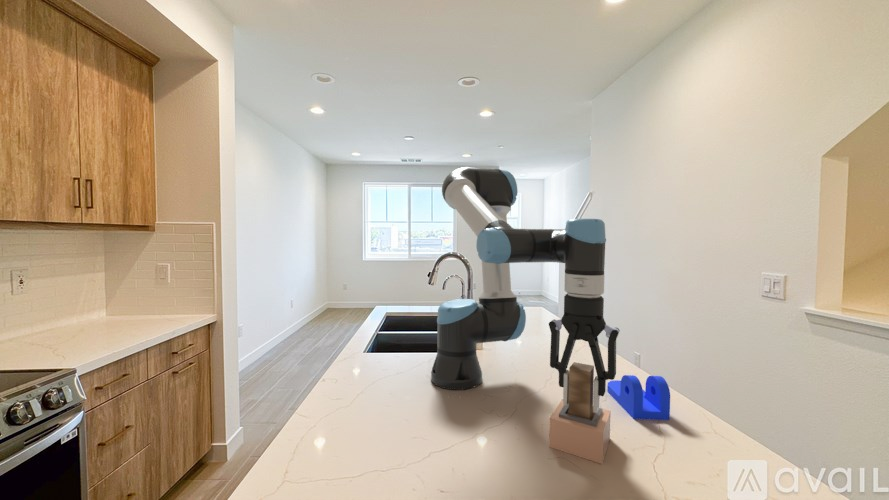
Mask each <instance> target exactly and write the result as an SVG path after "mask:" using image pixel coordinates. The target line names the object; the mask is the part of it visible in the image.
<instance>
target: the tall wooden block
mask: <svg viewBox="0 0 889 500" xmlns="http://www.w3.org/2000/svg"><path fill="white" fill-rule="evenodd" d="M568 370H569V412H568V414H570V415H573V416H577V417H581V418H585V419H588V420H592V419H593V392H594V379H595V377H594V376H595V375H594V374H595V365H591V364H586V363H582V362H581V363H580V362H574V361H573V363H572V364H571V365H570V366H569V369H568Z"/></svg>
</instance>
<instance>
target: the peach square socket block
mask: <svg viewBox="0 0 889 500" xmlns="http://www.w3.org/2000/svg"><path fill="white" fill-rule="evenodd" d="M568 412H569V403H568V404H567V405H563V398H562V399H561V400H560V402H559V404H558V405H557V406H556V407H555V409H554V411H553V413H552V414H551V415H550V417H549V439H548V440H549V441H548V445H549V448H552V449H556V450H558V451H562V452H565V453H568V454H570V455H574V456H576V457H580V458H583V459H587V460H590V461H592V462H595V463H598V464H601V465H603V463H604V460H605V457H606V453H607V450H608V446H609V443H610V439H611V417H612V416H611V415H612V414H611V410H609V409H606V408H605V409H604V408H602V407H599V410H598V412H597V413H594V412H593V419H592V420H588V419H585V418H581V417H577V416H573V415H570V414H568Z"/></svg>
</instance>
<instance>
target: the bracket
mask: <svg viewBox="0 0 889 500" xmlns="http://www.w3.org/2000/svg"><path fill="white" fill-rule="evenodd" d="M606 385H607V386H606V387H607V389H606V390H607V391H606V392H607V393H608V394H609V395H610V396H611V397H612V398H613V400H614V401H616V403H617V404H619V406H620V407H621V408H622V409H623V410H624V411H625V412H626V413H627V414H628V415H629V416H630V417H631V418H632V419H633V420H652V421H653V420H654V421H655V420H657V421H658V420H660V421H661V420H662V421H670V415H671V391H670V388H669V385H668V383H667V381H666V379H665V378H664V377H663V376H661V375H649V376H647V377H646V380H645V390H644V389H643V386H642V383H641V380H640V379H639V378H638V377H637V376H636V375H634V374H633V375H631V374H626V375H625V374H624V375H623V376H621V379H620V380H618V379H617V380H615V379H614V380H609V381H608V382H607V384H606Z"/></svg>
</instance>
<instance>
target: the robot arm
mask: <svg viewBox="0 0 889 500" xmlns="http://www.w3.org/2000/svg"><path fill="white" fill-rule="evenodd" d="M441 194H442V195H441V196H442V198H443V200H444V201H445V203H446V204H447V205H448V206H449V208H451V209H453V210H456V212H457V213H458V214H459V215H460V216H461V217H462V220H464V222H465V223H466V224H467V225H468V227H469V229H471V231H472V232H473V233H474V235H475V236H476V238H477V239H476V244H475V245H476V251H477V255H478V258H479V259H480V260H481V268H482V269H481V270H482V285H483V286H482V290H483V291H482V293H481V294H480V295H479V297H478V303H477V301H476V300H475V299H473V298H458V299H452V300H449V301H445V302H443V303H442V304H440V305H439V307H438V308H437V318H436V323H437V329H436V330H437V334H436V335H437V336H436V337H437V338H436V339H437V340H436V341H437V342H436V343H437V347H436V349H437V351H436V356H435V359H434V362H433V365H432V369H431V373H430V374H431V375H430V377H431V378H430V380H431V382H432V383H433V384H434V386H435V385H436V386H437V387H439V388H443V389H447V390H453V391H454V390H455V391H456V390H457V391H459V390H461V391H462V390H468V389H472V388H475V387H478V386H479V385H481V383H482V381H483V372H482V368H481V365H480V361H479V358H478V355H477V344H483V343H485V344H486V343H493V342H502V341H503V342H508V341H512V340H517V339H518V338H520V337H521V335H522V333H523V332H524V331H525V327H526V322H527V313H526V310H525V309H524V305H523V304H522V303H521V302H520V301H518V300H517V299H518V298H517V294H515V293H514V292H513V290H512V285H511V284H512V283H511V280H512V279H511V266H510V264H515V263H517V264H518V263H520V264H521V263H557V264H558V263H561V264H564V292H565V293H566V294H565V295H564V296H563V301H564V302H563V316H562V318H560V319H552V320H551V321H549V323H548V327H549V329H550V330H549V331H550V353H549V355H550V357H549V367H551V369H555V370H557V371H558V387H560V388H563V392H562V393H563V394H562V397H563V398H562V399H563V405H567V404H568V403H569V369H567V368H568V366H569V364H570V359H571V356H572V353H573V350H574V347H575V343H576V341H579V340H580V341H581V340H582V341H585V342H588V346H589V348H590V353H591V356H592V357H591V358H592V360H593V361H592V362H593V364H594V365H593V366H594V370H595V373H596V375H595V377H594V383H593V412H594V413H597V412H598V410H599V408H600V399H601V398H600V397H604V396H605V393H606V390H607V389H606V387H607V386H606V385H607V384H606V382H607V381H608V380H609V381H614V380H615V378H616V374H617V338H618V337H619V334H620V329H619V328H618V327H613V326H610V325H608V324H606V321H605V318H604V300H605V298H604V296H602V295H604V293H605V264H606V263H605V260H606V259H605V257H606V243H607V238H606V224H605V222H604V221H603V219H600V218H571V219H568V220H567V221H566V222H565V228H564V229H563V228H561V229H560V228H559V229H555V228H554V229H552V228H544V229H543V228H514V227H512V226H511V224H509V222H508V218H507V216H508V214H509V213H510V212H511V210H512V208H511V207H512V206H513V205H514V204H515V203H516V201H517V196H518V184H517V181H516V179H515V176H514V174H512V173H511V172H510V171H508V170H505V169H499V168H482V167H471V166H465V167H460V168H456V169H454V170H452V171H451V172H450V173H449V174H448V175H446V177H445V178H444V181H443V183H442V186H441ZM562 327H564V329H565V330H566V332H567V333H568V335H567V336H568V337H567V338H566V343H565V346H564V347H565V348H564V350H563V352H562V353H563V354H562V357H561V359H560V342H561V341H560V338H561V337H560V335H561V329H562ZM603 331H604V332H605V337H606V338H607V339H608V340H607V371H606V369H605V364H604V361H603V356H602V352H601V349H600V344H599V338H598V337H599V335H600V334H601V333H602V332H603Z"/></svg>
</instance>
